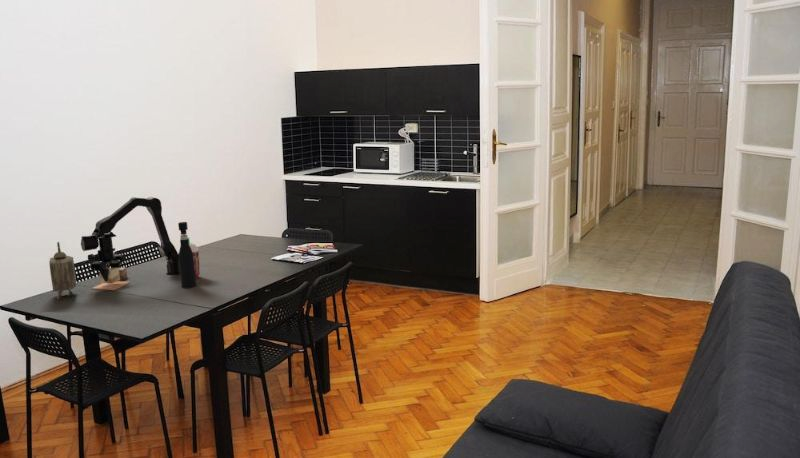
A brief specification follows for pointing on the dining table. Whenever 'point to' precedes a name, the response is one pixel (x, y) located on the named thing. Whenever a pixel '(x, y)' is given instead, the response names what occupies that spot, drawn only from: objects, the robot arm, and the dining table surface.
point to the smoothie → (195, 258)
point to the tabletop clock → (62, 272)
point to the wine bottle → (186, 259)
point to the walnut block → (122, 273)
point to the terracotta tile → (110, 285)
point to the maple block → (111, 276)
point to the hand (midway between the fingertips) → (110, 279)
